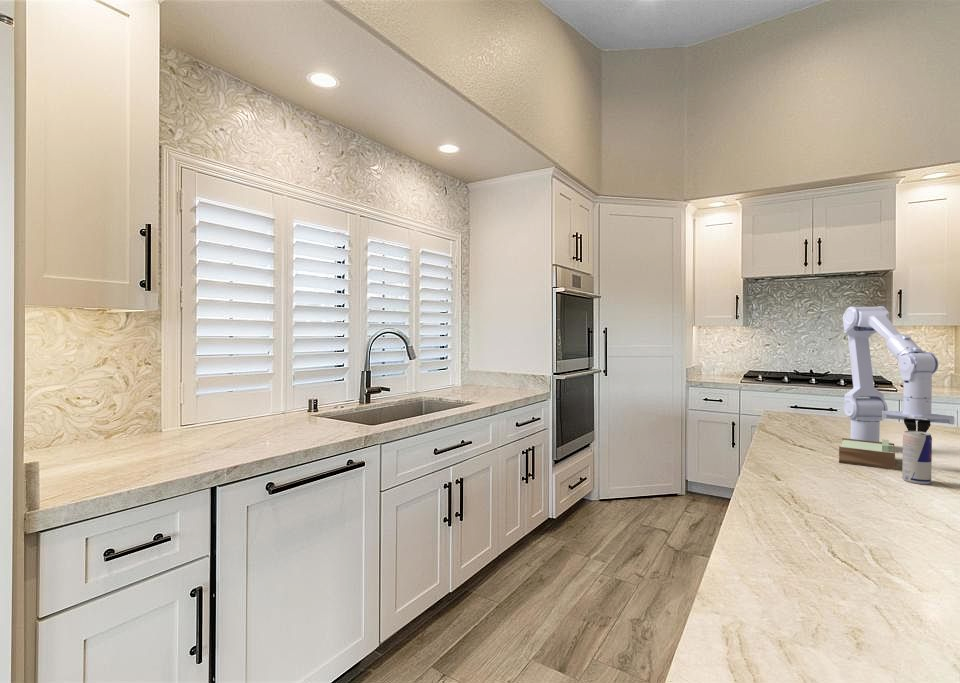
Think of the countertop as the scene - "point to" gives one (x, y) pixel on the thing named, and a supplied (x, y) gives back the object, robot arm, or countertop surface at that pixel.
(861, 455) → the box
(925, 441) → the energy drink
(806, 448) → the countertop surface
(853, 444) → the lid
